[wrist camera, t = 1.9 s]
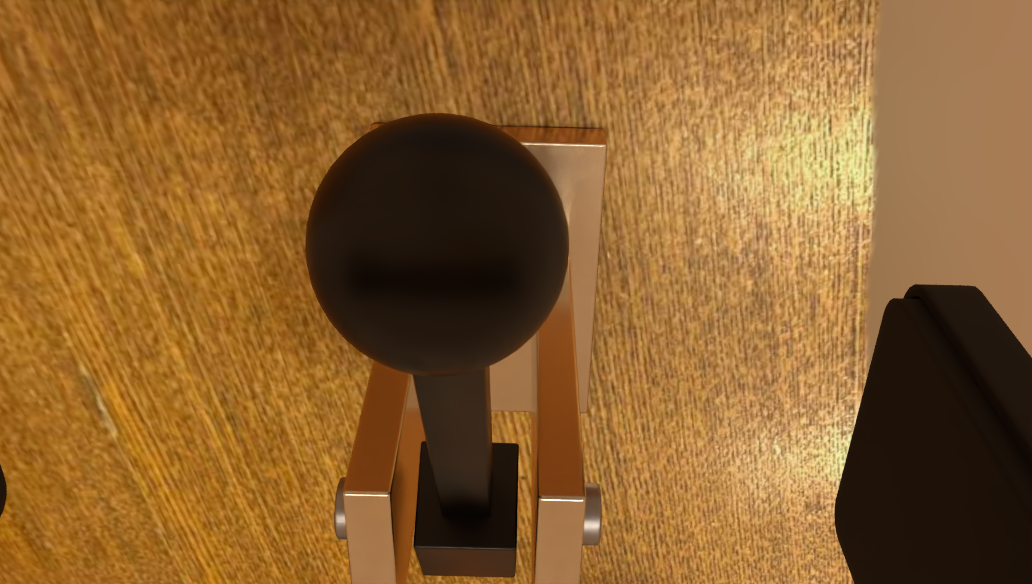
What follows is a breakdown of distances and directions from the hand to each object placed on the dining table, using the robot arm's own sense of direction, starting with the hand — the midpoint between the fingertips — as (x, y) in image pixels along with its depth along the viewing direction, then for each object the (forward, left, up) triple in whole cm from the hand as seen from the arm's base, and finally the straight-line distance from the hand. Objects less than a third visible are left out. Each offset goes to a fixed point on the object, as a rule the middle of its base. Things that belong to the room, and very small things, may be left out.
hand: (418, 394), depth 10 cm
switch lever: (+4, 0, -7) cm, 8 cm away
